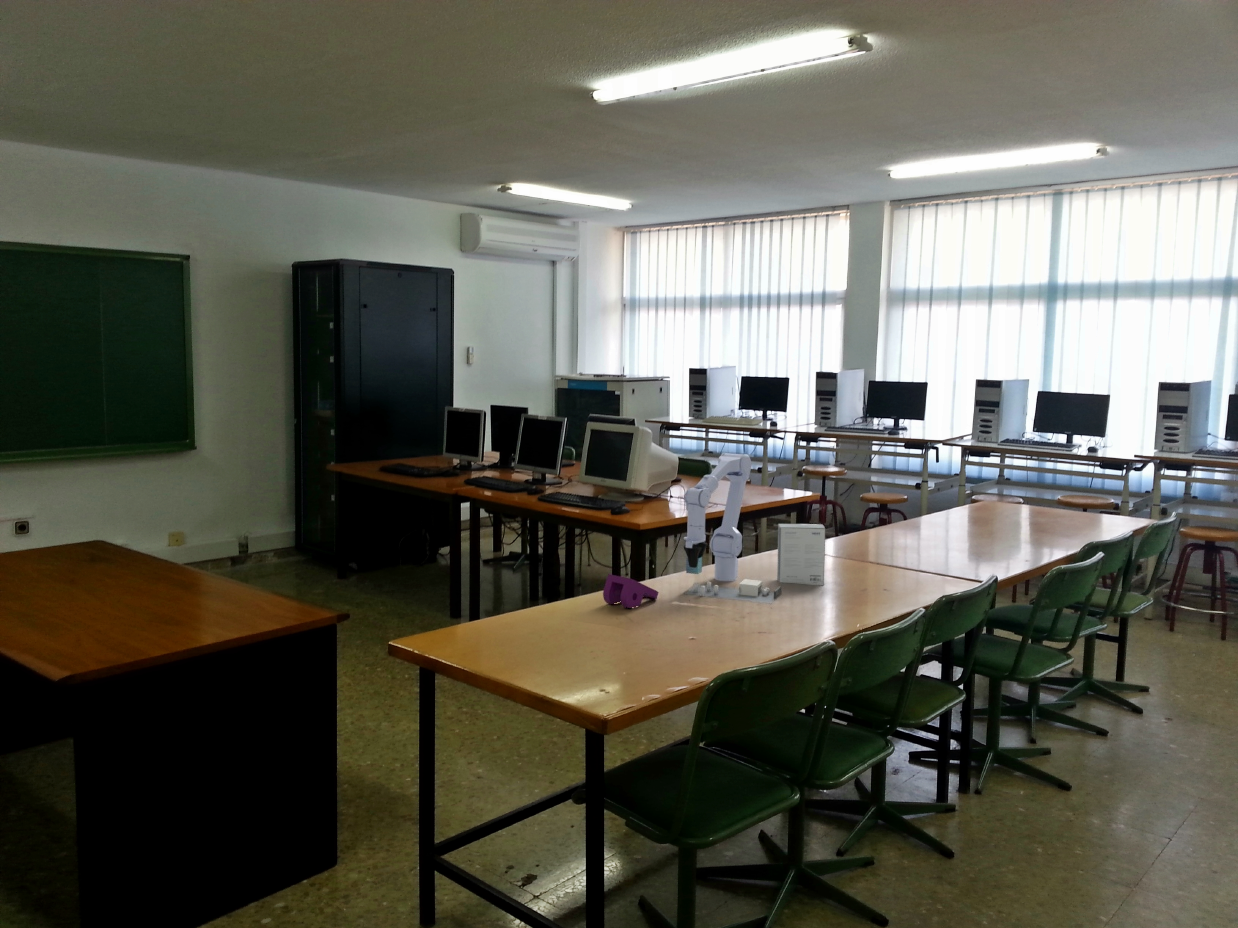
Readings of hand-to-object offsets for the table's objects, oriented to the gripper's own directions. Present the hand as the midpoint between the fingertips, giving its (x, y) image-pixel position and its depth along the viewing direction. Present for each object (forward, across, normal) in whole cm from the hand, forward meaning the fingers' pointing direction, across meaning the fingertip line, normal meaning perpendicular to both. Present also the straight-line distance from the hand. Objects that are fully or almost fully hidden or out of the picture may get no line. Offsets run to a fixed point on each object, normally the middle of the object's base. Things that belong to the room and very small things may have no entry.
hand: (695, 565), depth 306 cm
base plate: (+8, 0, +13) cm, 16 cm away
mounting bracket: (+9, +22, -12) cm, 27 cm away
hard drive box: (+9, -28, +29) cm, 41 cm away
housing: (+8, -3, +18) cm, 20 cm away
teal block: (+2, 0, 0) cm, 2 cm away
